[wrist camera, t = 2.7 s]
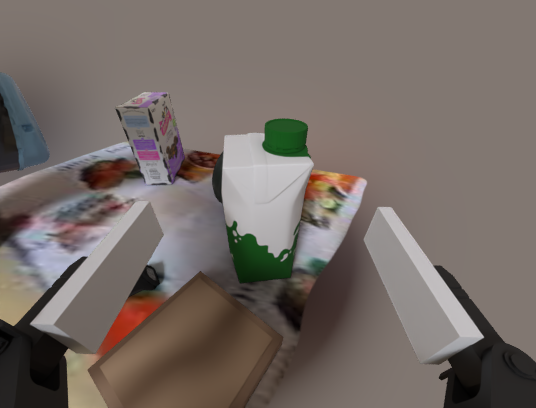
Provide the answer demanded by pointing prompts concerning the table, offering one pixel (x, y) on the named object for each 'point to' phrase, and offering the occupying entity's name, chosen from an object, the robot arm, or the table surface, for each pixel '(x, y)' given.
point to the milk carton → (265, 197)
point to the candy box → (153, 136)
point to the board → (189, 354)
